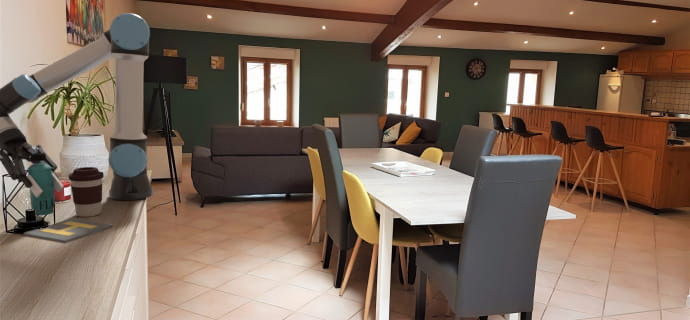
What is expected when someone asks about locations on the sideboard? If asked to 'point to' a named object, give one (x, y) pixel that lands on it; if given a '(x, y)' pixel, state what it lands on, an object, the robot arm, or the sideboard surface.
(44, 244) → the sideboard surface
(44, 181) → the beverage bottle
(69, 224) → the letter board
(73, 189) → the coffee cup
